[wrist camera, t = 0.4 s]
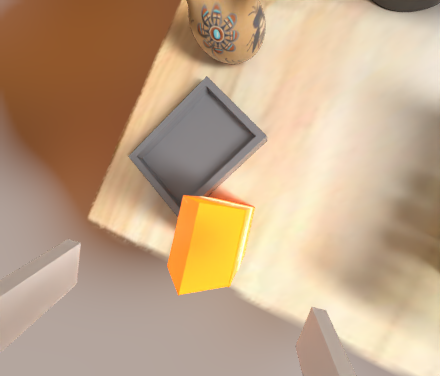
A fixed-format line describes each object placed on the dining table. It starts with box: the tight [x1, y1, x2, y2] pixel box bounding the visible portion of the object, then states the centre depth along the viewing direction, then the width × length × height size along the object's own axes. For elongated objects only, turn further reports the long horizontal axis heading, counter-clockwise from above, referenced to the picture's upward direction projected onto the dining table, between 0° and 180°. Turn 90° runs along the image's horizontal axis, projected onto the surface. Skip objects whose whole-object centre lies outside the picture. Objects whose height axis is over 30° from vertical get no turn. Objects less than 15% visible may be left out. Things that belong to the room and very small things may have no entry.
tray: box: [129, 76, 267, 217], centre depth 41 cm, size 20×15×3 cm
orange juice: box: [167, 195, 255, 295], centre depth 30 cm, size 8×9×20 cm
